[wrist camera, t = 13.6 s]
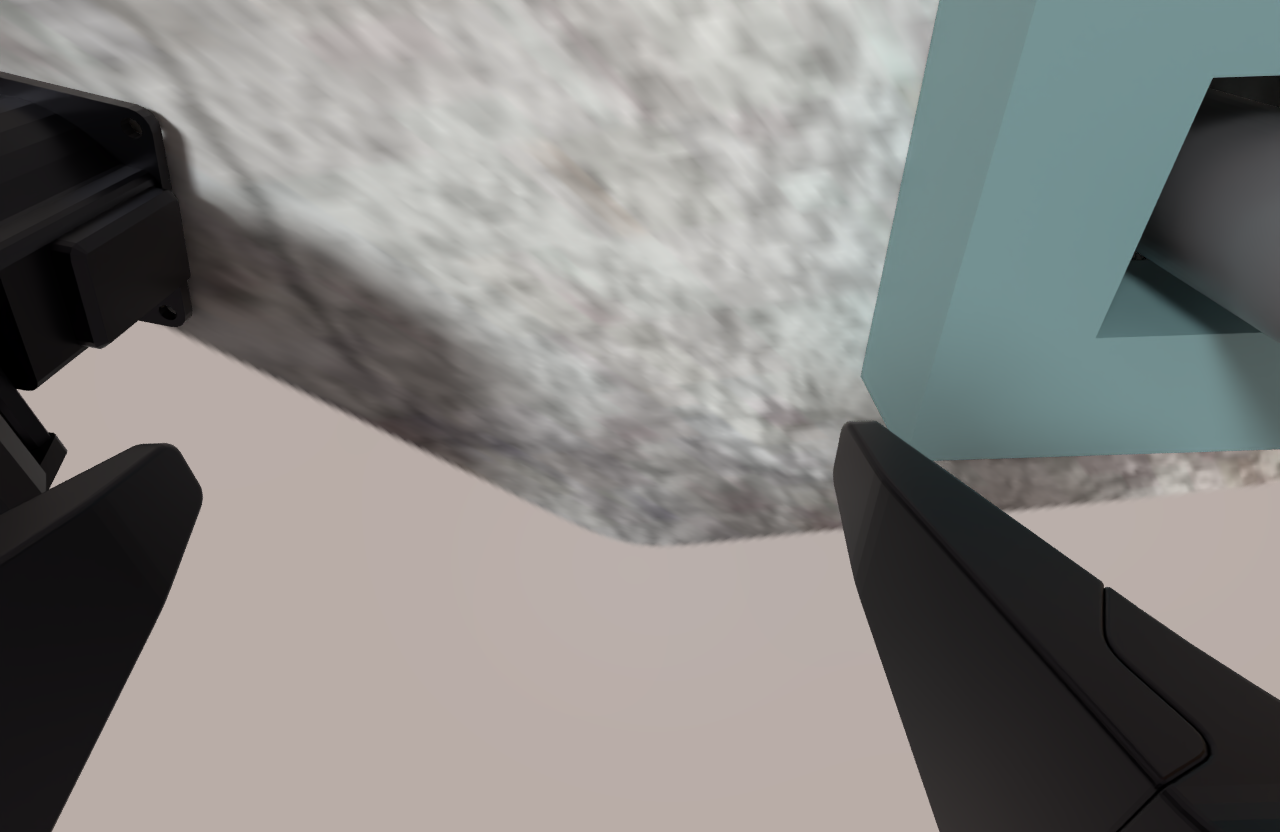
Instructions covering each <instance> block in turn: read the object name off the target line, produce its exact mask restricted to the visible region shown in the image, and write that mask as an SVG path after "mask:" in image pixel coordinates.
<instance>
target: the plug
mask: <svg viewBox="0 0 1280 832" xmlns="http://www.w3.org/2000/svg"><path fill="white" fill-rule="evenodd" d="M1135 251H1136V252H1138V253H1140V254H1141V255H1143V256H1144V257H1146V258H1147V259H1149V260H1150V261H1152V262H1154V263H1155V264H1157V265H1158V266H1160V267H1161V268H1163V269H1164V270H1166V271H1168V272H1169V273H1171V274H1172V275H1174V276H1175V277H1177V278H1178V279H1180V280H1182V281H1183V282H1185V283H1186V284H1188V285H1189V286H1191V287H1192V288H1194V289H1196V290H1197V291H1199V292H1200V293H1202V294H1203V295H1205V296H1206V297H1208V298H1210V299H1211V300H1213V301H1214V302H1216V303H1217V304H1219V305H1220V306H1222V307H1224V308H1225V309H1227V310H1228V311H1230V312H1231V313H1233V314H1234V315H1236V316H1238V317H1239V318H1241V319H1242V320H1244V321H1245V322H1247V323H1248V324H1250V325H1252V326H1253V327H1255V328H1256V329H1258V330H1259V331H1261V332H1263V333H1264V334H1266V335H1267V336H1269V337H1270V338H1272V339H1273V340H1275V341H1277V342H1278V343H1280V108H1279V107H1275V106H1272V105H1268V104H1265V103H1261V102H1258V101H1254V100H1250V99H1247V98H1243V97H1240V96H1236V95H1233V94H1229V93H1226V92H1222V91H1219V90H1215V89H1212V88H1208V89H1207V92H1206V94H1205V96H1204V98H1203V101H1202V103H1201V105H1200V107H1199V109H1198V112H1197V114H1196V116H1195V118H1194V121H1193V123H1192V125H1191V127H1190V129H1189V132H1188V134H1187V136H1186V138H1185V141H1184V143H1183V145H1182V147H1181V149H1180V152H1179V154H1178V156H1177V158H1176V161H1175V163H1174V165H1173V167H1172V169H1171V172H1170V174H1169V176H1168V178H1167V180H1166V183H1165V185H1164V187H1163V189H1162V192H1161V194H1160V196H1159V198H1158V200H1157V203H1156V205H1155V207H1154V209H1153V212H1152V214H1151V216H1150V218H1149V220H1148V223H1147V225H1146V227H1145V229H1144V232H1143V234H1142V236H1141V238H1140V240H1139V243H1138V245H1137V247H1136V249H1135Z"/></svg>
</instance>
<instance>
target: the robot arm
mask: <svg viewBox="0 0 1280 832" xmlns="http://www.w3.org/2000/svg"><path fill="white" fill-rule="evenodd" d="M130 118H131V119H133V120H135V121H136V122H137V123H138V124H139V125H140V127H141V129H142V134H140V133H138V132H136V131H135V130H134V129H133V128H132V126H131V124H130ZM189 278H190V269H189V263H188V257H187V251H186V245H185V239H184V233H183V227H182V221H181V215H180V209H179V203H178V200H177V198H176V197H175V195H174V194H173V193H172V189H171V184H170V178H169V172H168V166H167V160H166V155H165V149H164V143H163V137H162V131H161V128H160V125H159V122H158V120H157V119H156V118H155V116H154V115H153V114H152V113H151V112H149V111H148V110H147V109H146V108H144V107H141V106H139V105H136V104H132V103H128V102H124V101H120V100H116V99H112V98H108V97H103V96H99V95H95V94H91V93H87V92H83V91H79V90H75V89H70V88H66V87H62V86H58V85H54V84H50V83H46V82H42V81H37V80H33V79H29V78H25V77H21V76H17V75H13V74H9V73H4V72H0V832H52V830H53V828H54V826H55V824H56V822H57V820H58V818H59V816H60V814H61V812H62V810H63V808H64V806H65V804H66V802H67V800H68V798H69V796H70V794H71V792H72V790H73V788H74V786H75V784H76V782H77V780H78V778H79V776H80V774H81V772H82V770H83V768H84V766H85V764H86V762H87V760H88V758H89V756H90V754H91V751H92V750H93V748H94V746H95V744H96V742H97V739H98V738H99V736H100V734H101V732H102V730H103V728H104V726H105V723H106V722H107V720H108V718H109V716H110V714H111V711H112V710H113V708H114V706H115V703H116V701H117V700H118V698H119V696H120V693H121V691H122V689H123V687H124V685H125V683H126V681H127V679H128V677H129V675H130V673H131V671H132V669H133V667H134V665H135V663H136V661H137V659H138V657H139V655H140V653H141V651H142V649H143V647H144V645H145V643H146V641H147V639H148V637H149V635H150V633H151V631H152V629H153V627H154V625H155V623H156V621H157V619H158V617H159V615H160V613H161V610H162V608H163V606H164V604H165V601H166V599H167V597H168V594H169V591H170V589H171V586H172V584H173V581H174V579H175V576H176V573H177V570H178V568H179V565H180V562H181V560H182V557H183V554H184V552H185V549H186V546H187V544H188V541H189V538H190V535H191V533H192V530H193V527H194V525H195V522H196V519H197V516H198V514H199V511H200V508H201V505H202V500H203V494H202V489H201V486H200V485H199V483H198V481H197V479H196V478H195V476H194V474H193V473H192V471H191V469H190V468H189V466H188V464H187V463H186V461H185V459H184V457H183V456H182V454H181V452H180V451H179V450H178V449H177V448H176V447H175V446H173V445H171V444H167V443H158V444H140V445H135V446H133V447H131V448H129V449H127V450H125V451H123V452H121V453H119V454H118V455H116V456H114V457H112V458H110V459H108V460H106V461H104V462H102V463H100V464H98V465H96V466H94V467H92V468H91V469H88V470H86V471H84V472H82V473H81V474H78V475H77V476H75V477H73V478H71V479H69V480H67V481H65V482H63V483H61V484H59V485H57V486H55V487H53V488H51V489H49V488H50V486H51V484H52V482H53V480H54V478H55V476H56V474H57V472H58V470H59V468H60V466H61V464H62V462H63V460H64V458H65V455H66V454H67V450H66V448H65V447H64V446H63V444H62V443H61V441H60V440H59V439H58V437H57V436H56V434H54V433H50V432H49V433H48V432H47V430H46V429H45V428H44V426H43V425H42V424H41V422H40V421H39V419H38V418H37V417H36V415H35V414H34V413H33V411H32V410H31V408H30V407H29V406H28V404H27V403H26V402H25V400H24V399H23V398H22V396H21V395H20V393H19V392H18V391H17V389H21V390H26V391H30V390H31V391H32V390H35V389H36V388H37V387H39V386H40V385H41V384H43V383H44V382H45V381H46V380H48V379H49V378H50V377H51V376H53V375H54V374H55V373H57V372H58V371H59V370H60V369H62V368H63V367H64V366H65V365H67V364H68V363H69V362H70V361H72V360H73V359H74V358H75V357H77V356H78V355H79V354H80V353H82V352H83V351H84V350H86V349H87V348H88V347H92V348H98V349H101V348H104V347H106V346H107V345H108V344H110V343H111V342H113V341H114V340H115V339H116V338H117V337H118V336H120V335H121V334H122V333H123V332H125V331H126V330H127V329H128V328H129V327H131V326H132V325H133V324H134V323H136V322H137V321H138V320H139V321H144V322H149V323H154V324H159V325H165V326H170V327H178V326H181V325H183V324H184V323H185V322H186V321H187V320H188V319H189V318H190V317H191V316H192V306H191V300H190V294H189V288H188V283H187V280H188V279H189ZM166 305H167V306H169V307H171V308H173V309H174V310H175V312H176V314H175V313H173V312H171V311H170V310H169V309H168V308H167V306H166ZM833 480H834V487H835V492H836V496H837V501H838V506H839V511H840V516H841V520H842V525H843V530H844V534H845V539H846V544H847V549H848V553H849V558H850V563H851V568H852V572H853V576H854V581H855V584H856V587H857V591H858V594H859V597H860V600H861V603H862V606H863V609H864V612H865V615H866V618H867V620H868V624H869V627H870V630H871V632H872V635H873V638H874V641H875V644H876V647H877V650H878V653H879V656H880V659H881V662H882V664H883V668H884V670H885V673H886V676H887V679H888V682H889V685H890V688H891V691H892V694H893V697H894V700H895V703H896V706H897V708H898V712H899V714H900V717H901V720H902V723H903V726H904V729H905V732H906V735H907V738H908V741H909V743H910V746H911V750H912V752H913V755H914V758H915V761H916V764H917V767H918V770H919V773H920V776H921V779H922V782H923V785H924V788H925V790H926V793H927V796H928V799H929V802H930V805H931V808H932V811H933V814H934V817H935V820H936V823H937V826H938V828H939V831H940V832H1280V700H1279V699H1277V698H1276V697H1274V696H1272V695H1271V694H1269V693H1268V692H1266V691H1264V690H1263V689H1261V688H1259V687H1258V686H1256V685H1255V684H1253V683H1251V682H1250V681H1248V680H1247V679H1245V678H1244V677H1242V676H1241V675H1239V674H1237V673H1236V672H1234V671H1233V670H1231V669H1230V668H1228V667H1226V666H1225V665H1223V664H1222V663H1220V662H1219V661H1217V660H1216V659H1214V658H1213V657H1211V656H1209V655H1208V654H1206V653H1205V652H1203V651H1201V650H1200V649H1198V648H1197V647H1195V646H1194V645H1192V644H1190V643H1189V642H1188V641H1186V640H1185V639H1183V638H1182V637H1181V636H1179V635H1178V634H1176V633H1175V632H1173V631H1172V630H1170V629H1169V628H1167V627H1166V626H1165V625H1163V624H1162V623H1160V622H1159V621H1157V620H1156V619H1154V618H1153V617H1151V616H1150V615H1148V614H1147V613H1146V612H1144V611H1143V610H1141V609H1139V608H1138V607H1137V606H1136V605H1134V604H1133V603H1131V602H1130V601H1129V600H1127V599H1126V598H1124V597H1123V596H1122V595H1120V594H1119V593H1117V592H1116V591H1114V590H1113V589H1112V588H1110V587H1106V588H1104V585H1103V583H1102V582H1101V581H1100V580H1099V579H1097V578H1096V577H1095V576H1093V575H1092V574H1090V573H1089V572H1088V571H1086V570H1085V569H1083V568H1082V567H1080V566H1079V565H1078V564H1076V563H1075V562H1073V561H1072V560H1071V559H1069V558H1068V557H1066V556H1065V555H1064V554H1062V553H1061V552H1059V551H1058V550H1057V549H1055V548H1053V547H1052V546H1051V545H1050V544H1048V543H1047V542H1045V541H1044V540H1043V539H1041V538H1040V537H1038V536H1037V535H1036V534H1034V533H1033V532H1031V531H1030V530H1029V529H1027V528H1026V527H1024V526H1023V525H1021V524H1020V523H1019V522H1017V521H1016V520H1015V519H1013V518H1012V517H1010V516H1009V515H1008V514H1006V513H1005V512H1003V511H1002V510H1001V509H999V508H998V507H996V506H995V505H993V504H992V503H991V502H989V501H988V500H986V499H985V498H984V497H982V496H981V495H979V494H978V493H977V492H975V491H974V490H972V489H971V488H970V487H968V486H967V485H965V484H964V483H963V482H961V481H960V480H958V479H957V478H956V477H954V476H953V475H951V474H950V473H949V472H947V471H946V470H944V469H943V468H942V467H940V466H939V465H937V464H936V463H935V462H933V461H932V460H930V459H929V458H928V457H926V456H925V455H923V454H922V453H921V452H919V451H918V450H916V449H915V448H914V447H912V446H911V445H909V444H908V443H907V442H905V441H904V440H902V439H901V438H899V437H898V436H897V435H895V434H894V433H892V432H891V431H890V430H888V429H887V428H885V427H884V426H883V425H881V424H880V423H878V422H876V421H849V422H847V423H845V424H844V425H843V427H842V429H841V433H840V438H839V443H838V448H837V453H836V458H835V463H834V469H833Z"/></svg>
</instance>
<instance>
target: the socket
mask: <svg viewBox="0 0 1280 832" xmlns="http://www.w3.org/2000/svg"><path fill="white" fill-rule="evenodd" d="M1274 75H1280V0H940V1H939V6H938V11H937V15H936V20H935V25H934V30H933V34H932V39H931V44H930V49H929V54H928V58H927V63H926V68H925V73H924V77H923V82H922V87H921V92H920V96H919V101H918V106H917V111H916V115H915V120H914V125H913V130H912V135H911V139H910V144H909V149H908V154H907V158H906V163H905V168H904V173H903V177H902V182H901V187H900V192H899V197H898V201H897V206H896V211H895V216H894V220H893V225H892V230H891V235H890V239H889V244H888V249H887V254H886V258H885V263H884V268H883V273H882V278H881V282H880V287H879V292H878V297H877V301H876V306H875V311H874V316H873V320H872V325H871V330H870V335H869V340H868V344H867V349H866V354H865V359H864V363H863V368H862V373H861V378H862V380H863V382H864V384H865V386H866V387H867V389H868V391H869V393H870V395H871V397H872V399H873V401H874V403H875V405H876V407H877V409H878V411H879V413H880V415H881V416H882V418H883V420H884V422H885V424H886V426H887V428H888V430H890V431H891V432H892V433H894V434H895V435H897V436H898V437H899V438H901V439H902V440H904V441H905V442H907V443H908V444H909V445H911V446H912V447H914V448H915V449H916V450H918V451H919V452H921V453H922V454H923V455H925V456H926V457H928V458H929V459H930V460H932V461H942V460H972V459H1002V458H1032V457H1062V456H1091V455H1121V454H1151V453H1181V452H1211V451H1241V450H1271V449H1280V343H1278V342H1277V341H1275V340H1273V339H1272V338H1270V337H1269V336H1267V335H1266V334H1264V333H1263V332H1261V331H1259V330H1258V329H1256V328H1255V327H1253V326H1252V325H1250V324H1248V323H1247V322H1245V321H1244V320H1242V319H1241V318H1239V317H1238V316H1236V315H1234V314H1233V313H1231V312H1230V311H1228V310H1227V309H1225V308H1224V307H1222V306H1220V305H1219V304H1217V303H1216V302H1214V301H1213V300H1211V299H1210V298H1208V297H1206V296H1205V295H1203V294H1202V293H1200V292H1199V291H1197V290H1196V289H1194V288H1192V287H1191V286H1189V285H1188V284H1186V283H1185V282H1183V281H1182V280H1180V279H1178V278H1177V277H1175V276H1174V275H1172V274H1171V273H1169V272H1168V271H1166V270H1164V269H1163V268H1161V267H1160V266H1158V265H1157V264H1155V263H1154V262H1152V261H1150V260H1131V258H1132V256H1133V254H1134V252H1135V249H1136V247H1137V245H1138V243H1139V240H1140V238H1141V236H1142V234H1143V232H1144V229H1145V227H1146V225H1147V223H1148V220H1149V218H1150V216H1151V214H1152V212H1153V209H1154V207H1155V205H1156V203H1157V200H1158V198H1159V196H1160V194H1161V192H1162V189H1163V187H1164V185H1165V183H1166V180H1167V178H1168V176H1169V174H1170V172H1171V169H1172V167H1173V165H1174V163H1175V161H1176V158H1177V156H1178V154H1179V152H1180V149H1181V147H1182V145H1183V143H1184V141H1185V138H1186V136H1187V134H1188V132H1189V129H1190V127H1191V125H1192V123H1193V121H1194V118H1195V116H1196V114H1197V112H1198V109H1199V107H1200V105H1201V103H1202V101H1203V98H1204V96H1205V94H1206V92H1207V89H1208V87H1209V85H1210V83H1211V81H1212V78H1217V77H1246V76H1274Z"/></svg>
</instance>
